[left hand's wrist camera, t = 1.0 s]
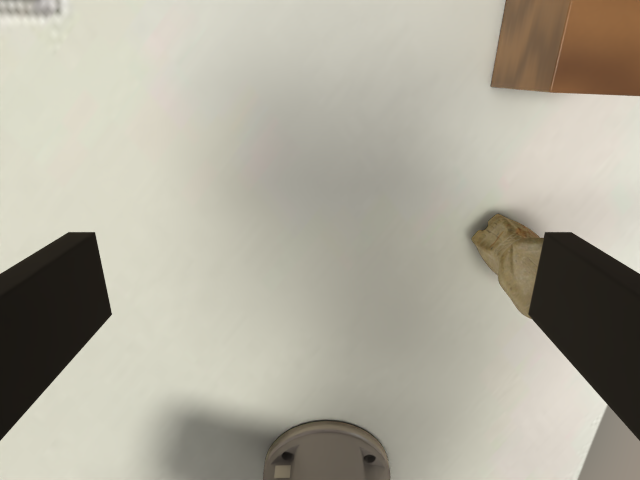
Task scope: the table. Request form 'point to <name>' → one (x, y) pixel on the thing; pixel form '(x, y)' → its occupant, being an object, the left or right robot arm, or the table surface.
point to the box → (570, 47)
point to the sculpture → (511, 257)
